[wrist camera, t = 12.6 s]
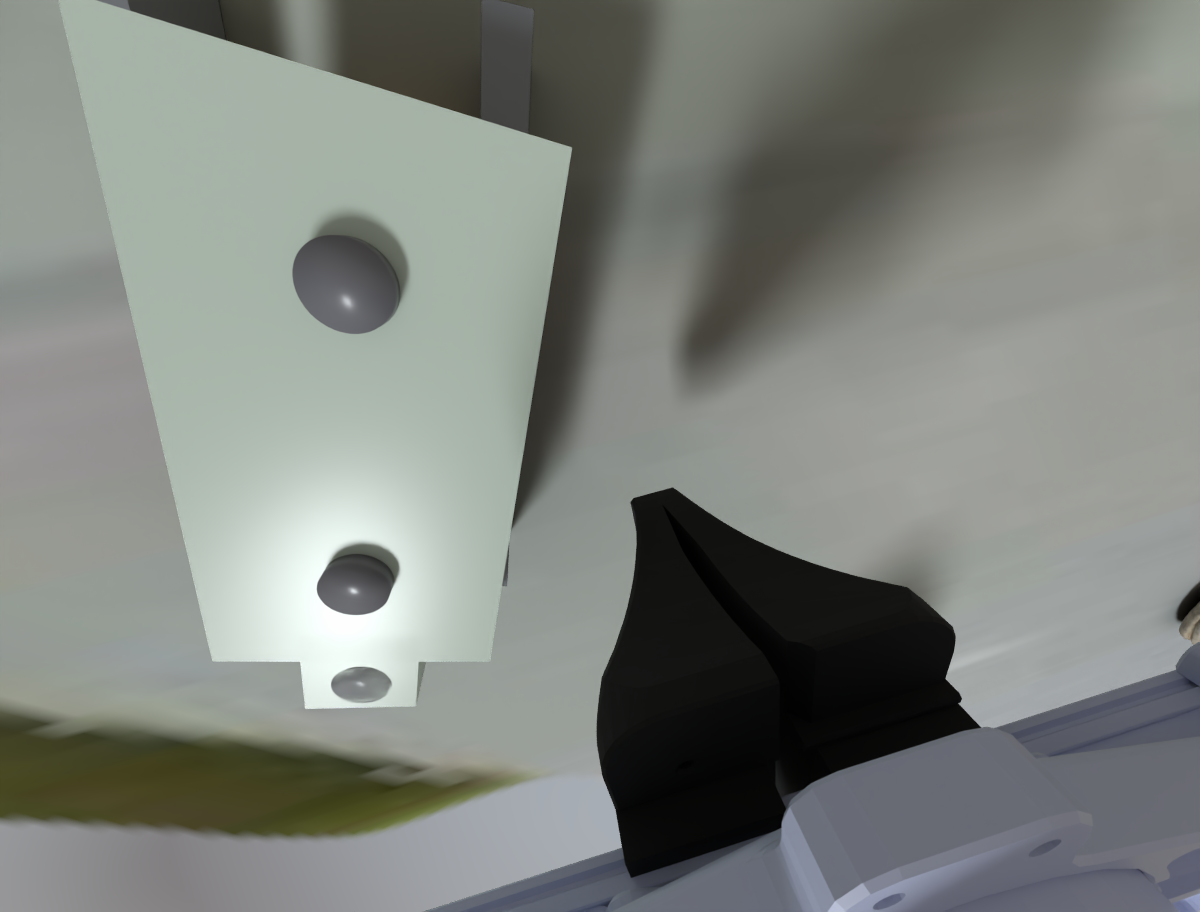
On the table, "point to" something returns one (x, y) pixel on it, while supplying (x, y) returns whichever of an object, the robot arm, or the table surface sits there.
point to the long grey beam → (501, 56)
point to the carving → (1191, 625)
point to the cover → (325, 342)
